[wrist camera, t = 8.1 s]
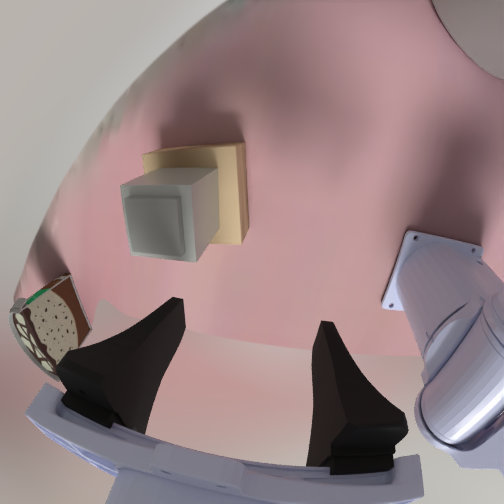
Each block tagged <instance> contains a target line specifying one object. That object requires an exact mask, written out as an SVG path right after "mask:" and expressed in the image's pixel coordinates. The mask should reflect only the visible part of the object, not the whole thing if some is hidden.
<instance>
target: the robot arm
mask: <svg viewBox="0 0 504 504" xmlns="http://www.w3.org/2000/svg"><path fill="white" fill-rule="evenodd" d="M414 236H417V238H416V239H414ZM473 248H474V249H473ZM472 249H473V251H472ZM483 251H484V249H483V248H482V247H481V246H479V245H475V244H471V243H466V242H462V241H458V240H454V239H449V238H445V237H440V236H436V235H431V234H427V233H422V232H417V231H412V230H409V231H407V232H406V234H405V236H404V240H403V243H402V246H401V249H400V253H399V256H398V259H397V262H396V265H395V267H394V270H393V273H392V276H391V279H390V281H389V284H388V287H387V290H386V292H385V295H384V297H383V300H382V302H381V305H382V308H383V309H390V310H400V311H405V314H406V316H407V318H408V321H409V323H410V326H411V328H412V331H413V334H414V336H415V339H416V341H417V344H418V347H419V350H420V352H421V355H422V358H423V361H424V365H425V366H424V370H423V372H422V373H421V376H422V379H423V383H424V387H423V389H422V390H421V391H420V393H419V394H418V396H417V398H416V401H415V407H414V413H415V419H416V423H417V426H418V428H419V430H420V432H421V433H422V435H423V436H424V437H425V439H426V440H427V441H428V442H429V443H431V444H432V445H433V446H435V447H437V448H439V449H441V450H443V451H445V452H447V453H448V454H450V455H451V456H452V457H453V458H454V460H455V461H456V462H457V464H458V465H459V467H461V468H469V469H496V470H499V471H500V472H501V474H502V475H503V477H504V412H503V411H504V283H503V282H502V280H501V279H500V278H499V277H498V276H497V275H496V274H495V273H494V272H493V270H492V269H491V268H490V267H489V266H488V265H487V264H486V263H485V262H484V261H483V260H482V259H481V257H482V255H483ZM392 303H393V304H392ZM390 304H392V305H390ZM185 328H186V324H185V314H184V302H183V299H180V298H175V297H172V298H171V299H169V300H168V301H167V302H165V303H164V304H163V305H161V306H160V307H159V308H157V309H156V310H155V311H154V312H152V313H151V314H149V315H148V316H147V317H145V318H144V319H143V320H141V321H140V322H138V323H136V324H135V325H133V326H132V327H130V328H129V329H127V330H125V331H124V332H121V333H119V334H117V335H115V336H113V337H111V338H108V339H106V340H104V341H102V342H99V343H96V344H93V345H90V346H86V347H83V348H78V349H74V350H69V351H67V353H66V354H65V355H64V356H63V358H62V359H61V360H60V362H59V363H58V364H57V366H56V368H55V369H56V373H57V375H58V377H59V379H60V380H61V382H62V383H63V385H64V386H65V388H66V389H67V391H66V393H65V394H64V393H63V392H62V391H60V390H59V389H57V388H55V387H54V386H52V385H50V384H49V383H45V384H44V386H43V387H42V389H41V390H40V391H39V393H38V394H37V396H36V397H35V399H34V400H33V402H32V403H31V405H30V406H29V407H28V409H27V411H26V412H25V415H26V416H27V417H28V418H29V419H30V420H31V421H32V422H33V423H34V424H35V425H36V426H37V427H38V428H39V429H40V430H41V431H42V432H43V433H44V434H45V435H46V436H47V437H49V438H50V439H52V440H53V441H55V442H56V443H58V444H59V445H61V446H62V447H64V448H65V449H67V450H69V451H70V452H72V453H74V454H75V455H77V456H78V457H80V458H82V459H83V460H85V461H87V462H88V463H90V464H92V465H94V466H95V467H97V468H99V469H101V470H103V471H105V472H107V473H109V474H110V475H113V476H114V477H116V479H115V482H114V484H113V486H112V489H111V491H110V493H109V496H108V498H107V501H106V503H105V504H409V503H411V502H413V501H416V500H418V499H420V498H422V497H423V496H424V488H423V479H422V470H421V463H420V456H419V455H418V454H416V455H410V456H403V457H398V458H395V459H393V454H394V453H395V451H396V450H395V445H396V444H397V443H399V442H400V441H401V440H402V439H403V438H404V437H405V436H406V435H407V433H408V425H407V420H406V417H405V413H404V412H402V411H401V410H400V409H398V408H397V407H396V406H394V405H393V404H392V403H390V402H389V401H388V400H387V399H386V398H385V397H384V396H382V395H381V394H380V393H379V392H378V391H377V390H376V388H375V387H374V386H373V385H372V384H371V383H370V382H369V381H368V380H367V378H366V377H365V376H364V375H363V373H362V372H361V371H360V369H359V368H358V366H357V365H356V363H355V362H354V360H353V359H352V357H351V355H350V354H349V352H348V350H347V348H346V347H345V345H344V343H343V341H342V339H341V337H340V335H339V333H338V331H337V329H336V327H335V325H334V323H333V322H329V321H321V323H320V326H319V330H318V333H317V336H316V339H315V342H314V345H313V350H312V383H313V418H312V428H311V437H310V444H309V452H308V457H307V463H306V467H305V466H288V465H277V464H268V463H259V462H252V461H246V460H240V459H233V458H229V457H224V456H218V455H214V454H209V453H205V452H201V451H197V450H193V449H189V448H185V447H182V446H178V445H175V444H171V443H168V442H165V441H162V440H159V439H156V438H153V437H150V436H147V435H145V432H146V428H147V424H148V420H149V417H150V413H151V410H152V406H153V403H154V400H155V397H156V394H157V391H158V388H159V386H160V383H161V380H162V378H163V376H164V373H165V371H166V370H167V368H168V366H169V364H170V362H171V360H172V358H173V356H174V354H175V352H176V350H177V348H178V346H179V344H180V342H181V339H182V337H183V334H184V331H185ZM502 412H503V413H502ZM501 413H502V414H501ZM500 414H501V415H500Z"/></svg>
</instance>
